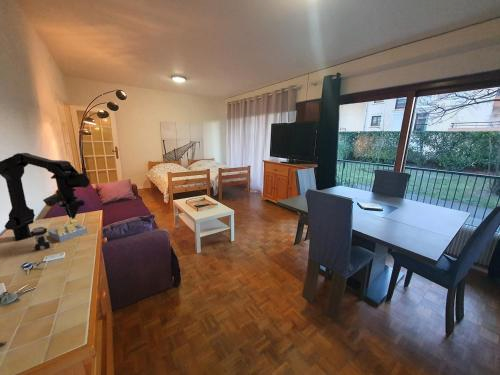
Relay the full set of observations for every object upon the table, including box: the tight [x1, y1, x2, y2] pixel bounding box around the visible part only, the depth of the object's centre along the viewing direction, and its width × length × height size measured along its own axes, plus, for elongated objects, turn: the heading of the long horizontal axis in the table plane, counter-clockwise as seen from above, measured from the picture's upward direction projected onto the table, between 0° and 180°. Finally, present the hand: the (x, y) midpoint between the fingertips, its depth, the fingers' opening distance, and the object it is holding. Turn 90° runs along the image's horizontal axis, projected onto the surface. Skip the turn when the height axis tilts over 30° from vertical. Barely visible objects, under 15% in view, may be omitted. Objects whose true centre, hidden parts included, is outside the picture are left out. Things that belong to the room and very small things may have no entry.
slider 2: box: [64, 223, 75, 232], centre depth 108 cm, size 2×3×3 cm
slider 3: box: [69, 219, 80, 226], centre depth 115 cm, size 2×3×3 cm
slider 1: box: [54, 226, 65, 235], centre depth 105 cm, size 2×3×3 cm
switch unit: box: [47, 224, 88, 243], centre depth 111 cm, size 14×12×3 cm
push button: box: [30, 226, 51, 252], centre depth 95 cm, size 7×5×10 cm
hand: (72, 217), depth 104 cm, fingers open, 3 cm apart
